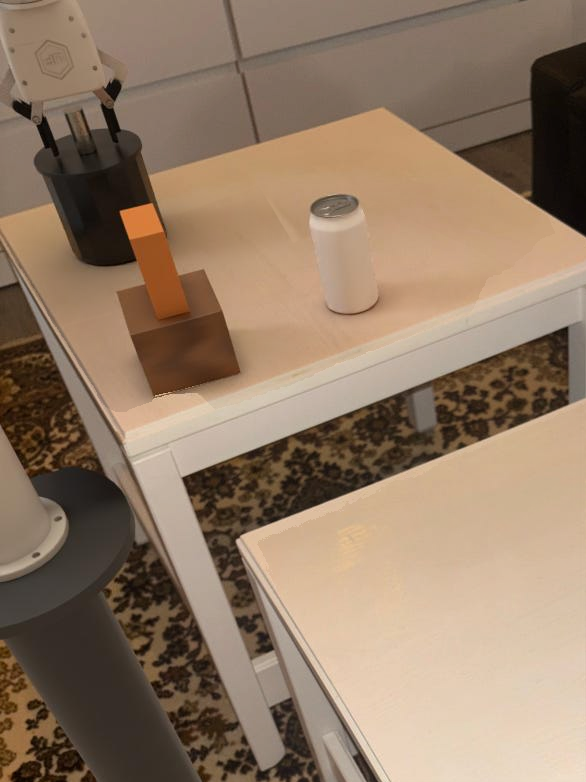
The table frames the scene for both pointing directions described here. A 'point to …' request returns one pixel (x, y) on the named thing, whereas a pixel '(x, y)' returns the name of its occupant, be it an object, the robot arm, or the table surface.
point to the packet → (155, 260)
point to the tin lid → (86, 150)
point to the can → (343, 253)
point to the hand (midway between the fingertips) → (85, 144)
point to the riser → (180, 337)
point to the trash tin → (102, 211)
